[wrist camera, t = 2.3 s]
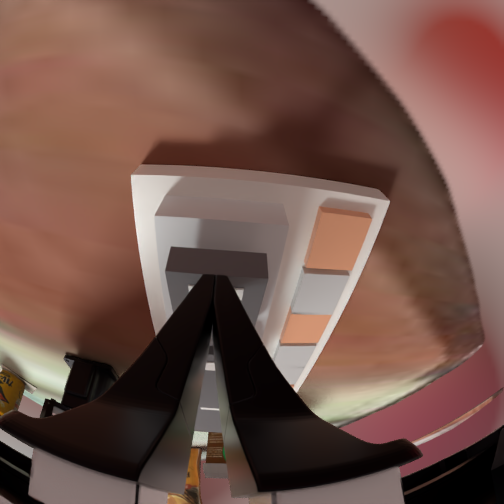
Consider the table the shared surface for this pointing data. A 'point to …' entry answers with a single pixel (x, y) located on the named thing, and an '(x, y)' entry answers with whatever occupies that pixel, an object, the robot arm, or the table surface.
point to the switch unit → (263, 245)
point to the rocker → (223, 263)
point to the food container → (215, 457)
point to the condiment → (11, 390)
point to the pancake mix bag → (190, 482)
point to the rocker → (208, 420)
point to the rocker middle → (209, 384)
